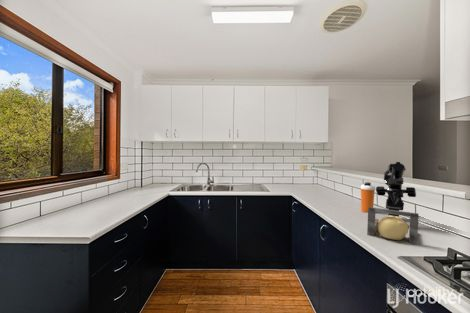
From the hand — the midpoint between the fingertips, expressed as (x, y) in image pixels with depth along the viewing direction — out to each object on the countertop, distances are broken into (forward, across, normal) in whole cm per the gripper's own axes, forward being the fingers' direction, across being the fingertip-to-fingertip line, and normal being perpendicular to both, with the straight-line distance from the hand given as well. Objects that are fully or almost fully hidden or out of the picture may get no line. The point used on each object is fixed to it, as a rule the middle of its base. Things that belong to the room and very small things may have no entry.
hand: (394, 204), depth 136 cm
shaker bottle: (-10, -21, +29) cm, 37 cm away
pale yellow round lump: (+25, +2, -8) cm, 26 cm away
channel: (+19, +1, -3) cm, 20 cm away
